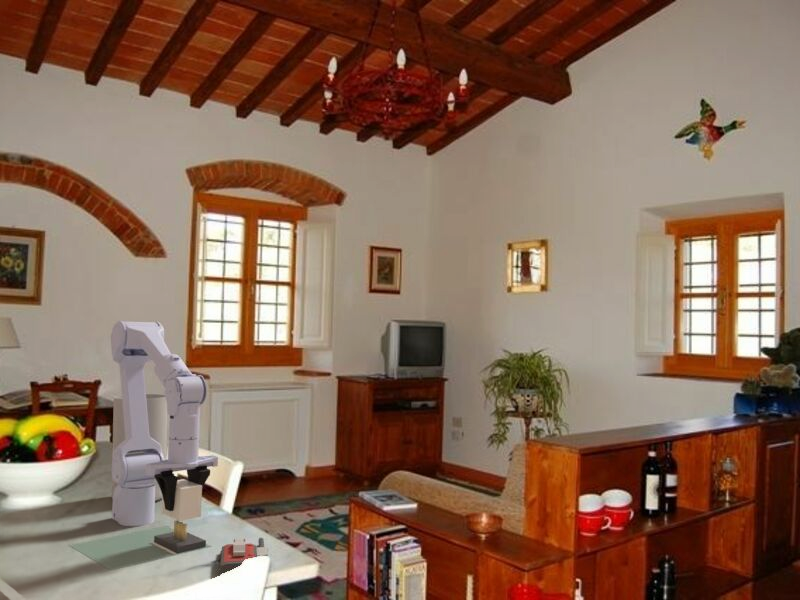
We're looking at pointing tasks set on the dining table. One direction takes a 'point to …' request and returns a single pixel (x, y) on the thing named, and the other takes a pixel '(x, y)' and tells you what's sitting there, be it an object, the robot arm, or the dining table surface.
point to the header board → (141, 546)
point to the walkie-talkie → (239, 553)
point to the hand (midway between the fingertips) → (181, 507)
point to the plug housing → (185, 501)
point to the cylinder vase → (155, 423)
